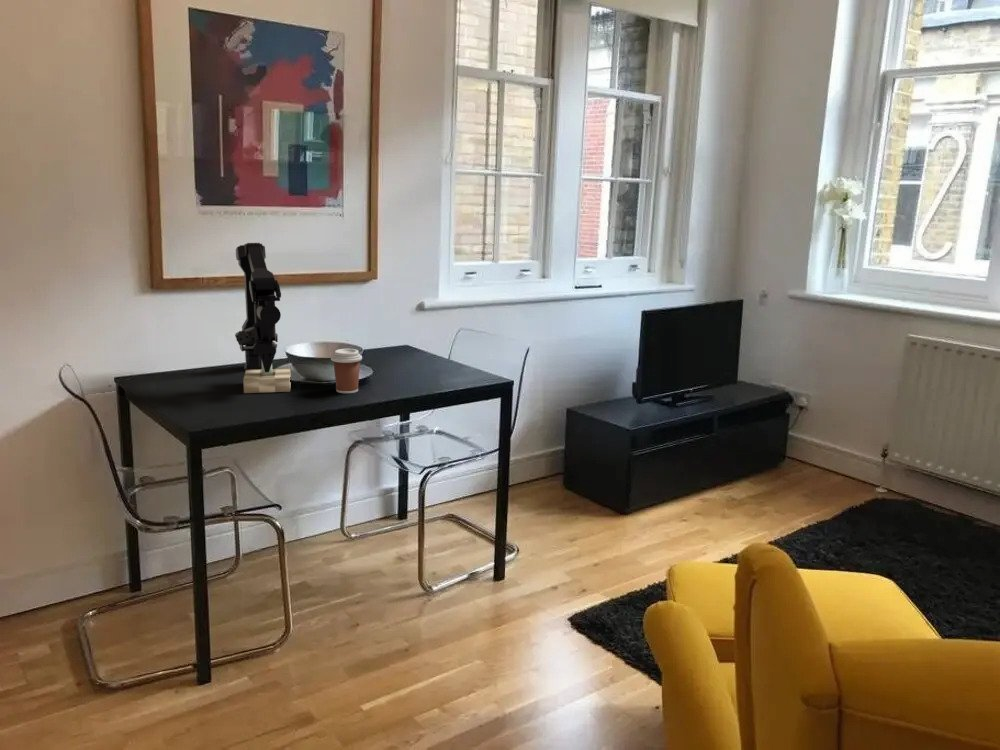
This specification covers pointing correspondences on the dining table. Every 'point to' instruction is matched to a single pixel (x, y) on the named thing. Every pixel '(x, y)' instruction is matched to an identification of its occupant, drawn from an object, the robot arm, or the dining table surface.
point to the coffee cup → (346, 370)
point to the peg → (267, 372)
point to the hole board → (267, 381)
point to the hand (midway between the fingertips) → (267, 370)
